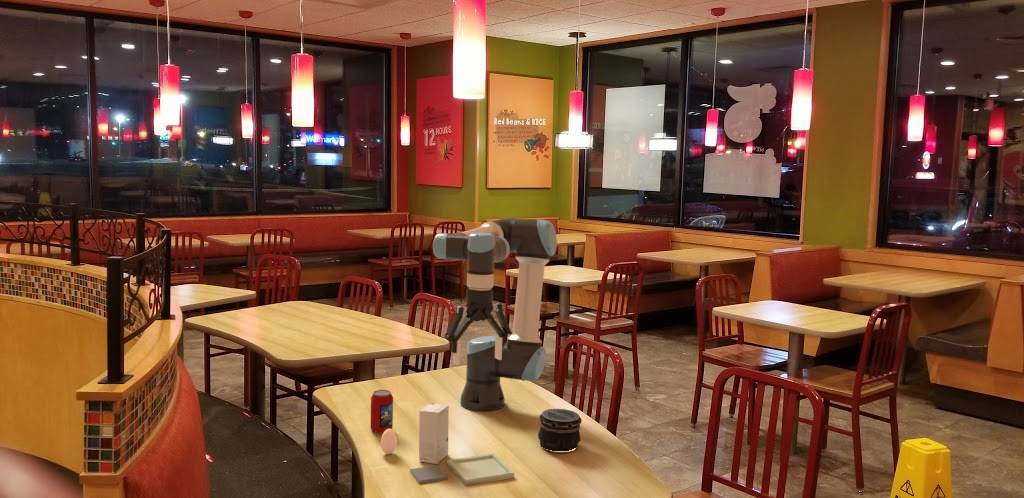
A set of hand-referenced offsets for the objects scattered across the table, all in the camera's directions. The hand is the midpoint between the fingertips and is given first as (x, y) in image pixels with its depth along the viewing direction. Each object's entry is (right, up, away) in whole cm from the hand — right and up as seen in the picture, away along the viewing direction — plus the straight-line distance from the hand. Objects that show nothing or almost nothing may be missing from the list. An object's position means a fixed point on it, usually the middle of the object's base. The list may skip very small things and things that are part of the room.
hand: (477, 361), depth 226 cm
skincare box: (-12, -27, -2) cm, 30 cm away
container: (+24, -27, +10) cm, 38 cm away
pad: (-12, -29, -14) cm, 34 cm away
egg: (-25, -27, 0) cm, 37 cm away
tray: (+1, -29, -10) cm, 30 cm away
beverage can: (-30, -24, +18) cm, 43 cm away
